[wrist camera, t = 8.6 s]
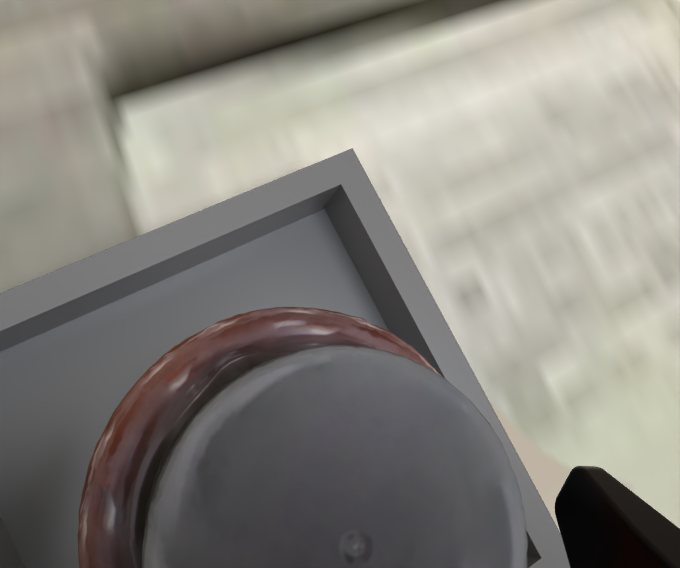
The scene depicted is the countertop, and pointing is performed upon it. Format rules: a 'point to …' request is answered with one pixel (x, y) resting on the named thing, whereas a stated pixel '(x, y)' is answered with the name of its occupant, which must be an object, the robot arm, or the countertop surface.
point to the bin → (192, 317)
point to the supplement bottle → (298, 457)
